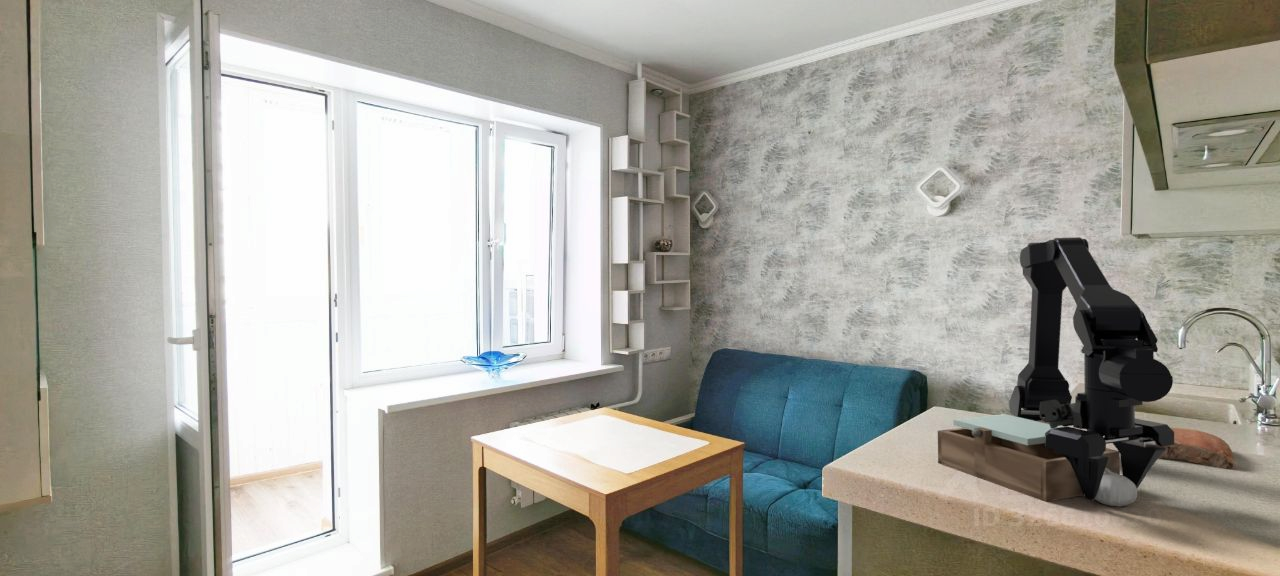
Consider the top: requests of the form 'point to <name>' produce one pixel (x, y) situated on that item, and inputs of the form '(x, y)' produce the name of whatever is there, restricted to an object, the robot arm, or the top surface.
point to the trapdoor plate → (1008, 428)
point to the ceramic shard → (1199, 448)
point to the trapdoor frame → (1013, 463)
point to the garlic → (1116, 490)
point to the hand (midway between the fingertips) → (1109, 495)
